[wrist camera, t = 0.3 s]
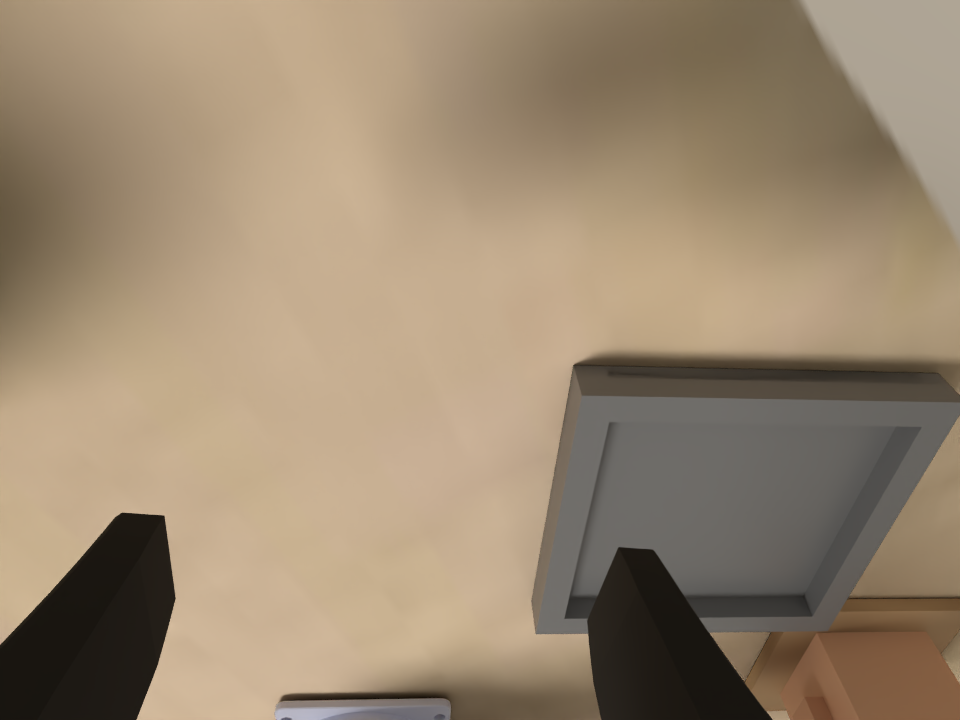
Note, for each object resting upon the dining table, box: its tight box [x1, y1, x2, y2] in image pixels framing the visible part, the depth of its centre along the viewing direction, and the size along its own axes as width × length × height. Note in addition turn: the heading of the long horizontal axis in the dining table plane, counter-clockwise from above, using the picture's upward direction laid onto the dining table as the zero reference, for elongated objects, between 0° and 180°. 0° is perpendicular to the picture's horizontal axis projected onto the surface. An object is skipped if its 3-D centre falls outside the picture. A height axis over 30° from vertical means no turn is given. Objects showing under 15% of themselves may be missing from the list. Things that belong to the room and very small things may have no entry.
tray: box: [531, 365, 960, 634], centre depth 25 cm, size 12×12×2 cm
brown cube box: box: [780, 632, 960, 720], centre depth 30 cm, size 5×6×5 cm
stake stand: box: [745, 599, 960, 711], centre depth 30 cm, size 8×8×4 cm
